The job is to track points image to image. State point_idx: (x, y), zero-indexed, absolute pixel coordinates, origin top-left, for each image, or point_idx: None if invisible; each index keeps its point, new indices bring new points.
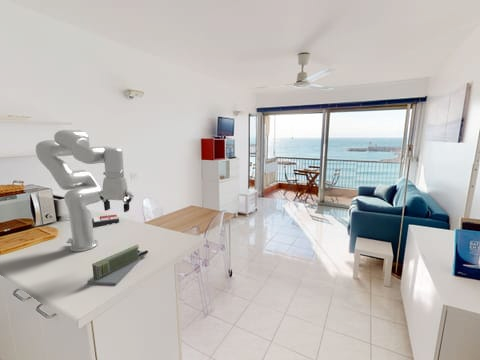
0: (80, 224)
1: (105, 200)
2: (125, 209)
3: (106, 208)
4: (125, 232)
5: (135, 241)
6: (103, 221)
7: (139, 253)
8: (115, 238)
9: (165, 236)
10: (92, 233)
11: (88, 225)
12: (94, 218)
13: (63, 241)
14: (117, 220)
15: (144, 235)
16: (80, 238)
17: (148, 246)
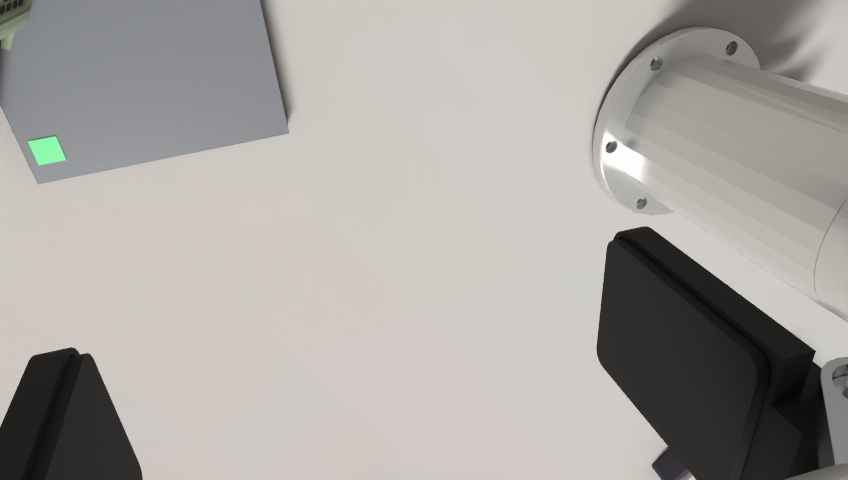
0: (844, 146)
1: (837, 435)
2: (23, 424)
3: (635, 275)
4: (522, 389)
5: (343, 314)
6: None
7: (79, 128)
8: (532, 297)
9: (153, 466)
10: (684, 194)
11: (766, 199)
12: None
13: None
14: (668, 473)
15: (346, 411)
16: (731, 91)
17: (152, 286)
